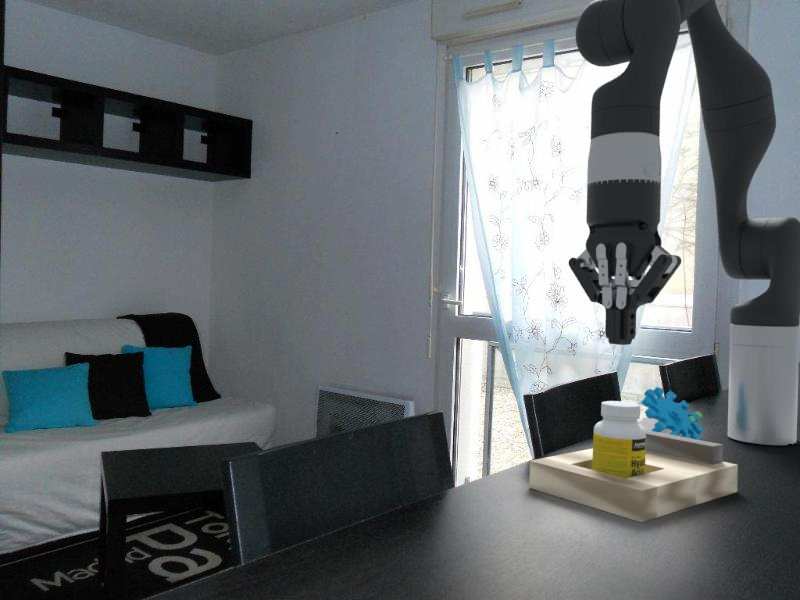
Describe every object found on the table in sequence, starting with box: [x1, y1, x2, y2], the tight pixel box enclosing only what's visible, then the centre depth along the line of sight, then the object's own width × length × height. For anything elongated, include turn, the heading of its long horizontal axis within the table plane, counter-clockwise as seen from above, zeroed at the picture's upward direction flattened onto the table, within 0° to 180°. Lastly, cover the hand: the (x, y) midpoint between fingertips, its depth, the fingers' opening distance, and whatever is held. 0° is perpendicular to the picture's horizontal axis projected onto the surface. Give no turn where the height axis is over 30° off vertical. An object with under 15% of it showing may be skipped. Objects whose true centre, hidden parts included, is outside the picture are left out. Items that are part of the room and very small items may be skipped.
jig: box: [528, 429, 739, 523], centre depth 77 cm, size 18×14×5 cm
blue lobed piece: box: [641, 386, 704, 440], centre depth 105 cm, size 11×6×10 cm
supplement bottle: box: [592, 400, 646, 478], centre depth 75 cm, size 5×5×10 cm
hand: (619, 343), depth 75 cm, fingers closed
